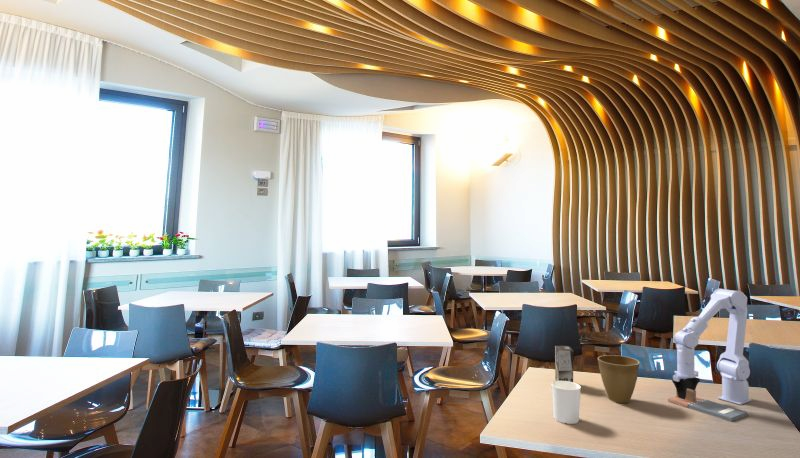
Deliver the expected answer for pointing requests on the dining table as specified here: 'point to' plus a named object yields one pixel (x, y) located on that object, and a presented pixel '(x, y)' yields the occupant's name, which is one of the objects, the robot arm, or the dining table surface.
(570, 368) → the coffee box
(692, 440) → the dining table surface
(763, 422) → the dining table surface
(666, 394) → the dining table surface
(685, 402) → the stub
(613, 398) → the plant pot
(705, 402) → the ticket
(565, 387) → the candle holder
